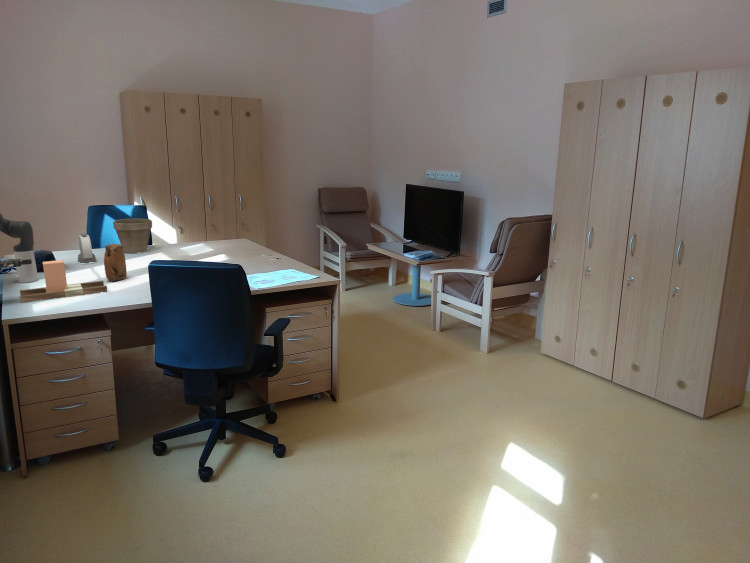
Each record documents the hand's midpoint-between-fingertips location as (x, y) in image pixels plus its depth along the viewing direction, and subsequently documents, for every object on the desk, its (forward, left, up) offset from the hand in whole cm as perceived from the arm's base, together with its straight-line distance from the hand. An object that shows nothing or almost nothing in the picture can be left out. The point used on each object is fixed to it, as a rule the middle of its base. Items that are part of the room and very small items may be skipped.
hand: (31, 261), depth 272 cm
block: (-18, +39, -19) cm, 47 cm away
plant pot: (-97, +63, -19) cm, 117 cm away
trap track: (0, +12, -18) cm, 22 cm away
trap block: (0, +9, -15) cm, 18 cm away
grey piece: (-77, +30, -19) cm, 85 cm away
